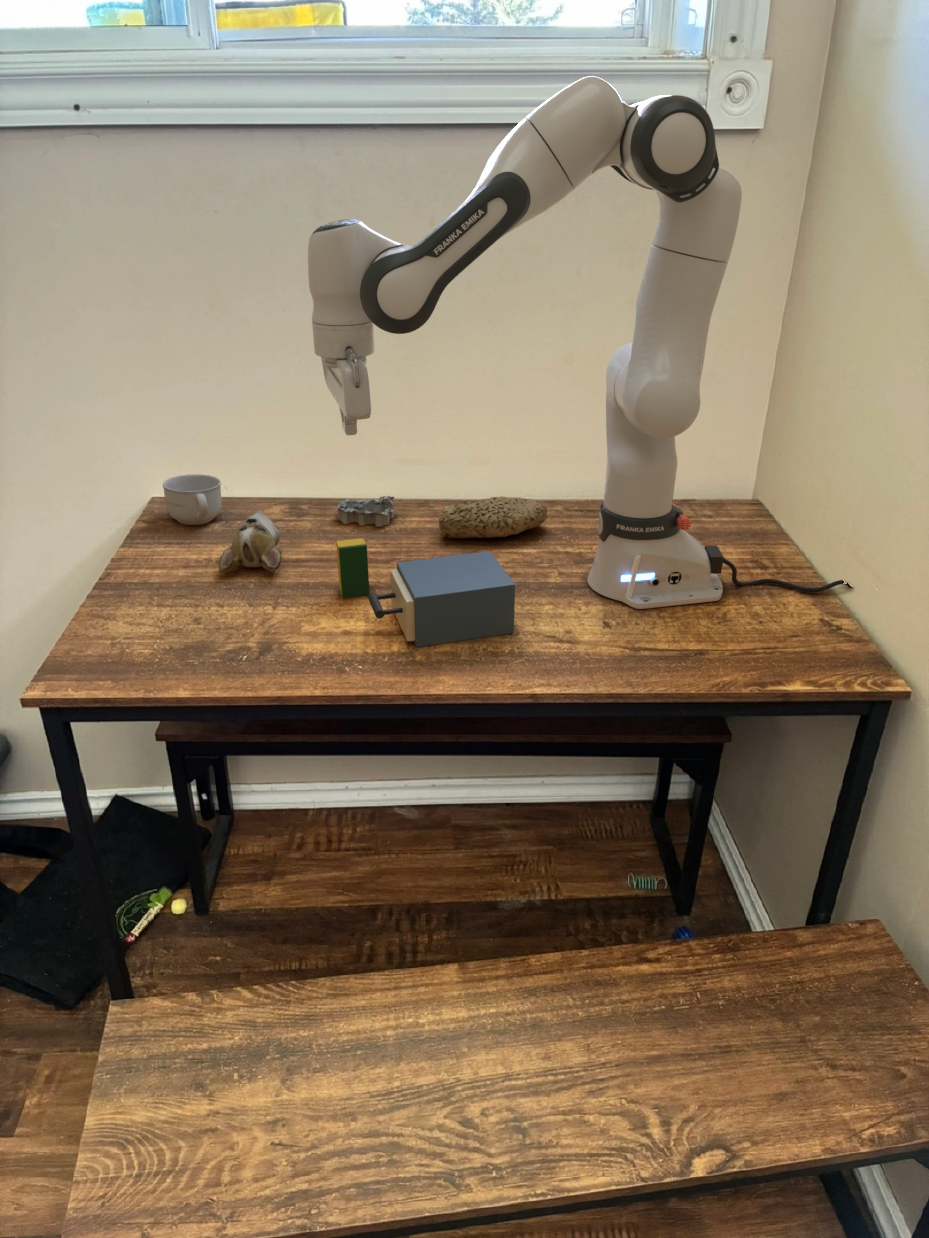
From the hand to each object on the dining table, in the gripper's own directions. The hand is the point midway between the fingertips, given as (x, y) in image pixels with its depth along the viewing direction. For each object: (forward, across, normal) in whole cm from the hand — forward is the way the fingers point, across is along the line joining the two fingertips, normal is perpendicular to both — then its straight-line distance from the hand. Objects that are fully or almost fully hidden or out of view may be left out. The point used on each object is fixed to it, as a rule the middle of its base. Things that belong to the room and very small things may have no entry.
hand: (349, 432), depth 136 cm
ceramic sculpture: (+27, +14, +16) cm, 34 cm away
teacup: (+27, +36, +26) cm, 52 cm away
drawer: (+26, -16, -8) cm, 32 cm away
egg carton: (+27, +28, -7) cm, 40 cm away
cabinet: (+27, -16, -12) cm, 34 cm away
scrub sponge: (+27, -2, +1) cm, 27 cm away
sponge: (+27, +15, -29) cm, 42 cm away
